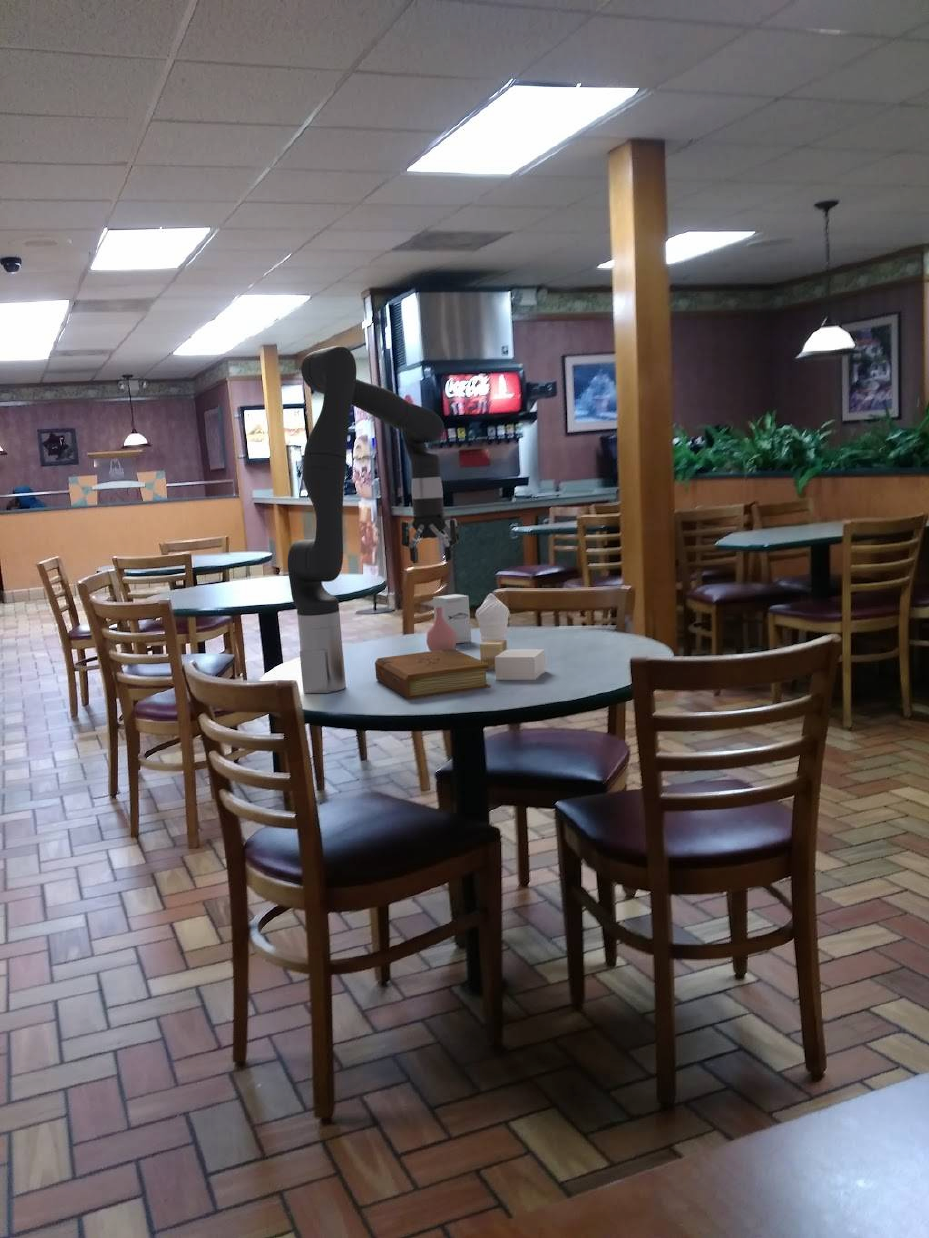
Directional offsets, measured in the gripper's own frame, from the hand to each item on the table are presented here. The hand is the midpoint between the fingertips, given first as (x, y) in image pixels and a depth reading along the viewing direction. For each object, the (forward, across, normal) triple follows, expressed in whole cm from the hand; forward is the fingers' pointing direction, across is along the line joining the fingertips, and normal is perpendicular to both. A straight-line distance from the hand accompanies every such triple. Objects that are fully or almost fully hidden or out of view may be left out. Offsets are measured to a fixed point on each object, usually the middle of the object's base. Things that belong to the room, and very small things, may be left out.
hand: (431, 562), depth 252 cm
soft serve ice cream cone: (+24, +15, -2) cm, 29 cm away
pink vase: (+24, 0, +5) cm, 24 cm away
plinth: (+24, +27, -21) cm, 42 cm away
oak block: (+24, +18, -12) cm, 32 cm away
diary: (+25, +8, -30) cm, 40 cm away
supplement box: (+24, -3, +22) cm, 32 cm away
